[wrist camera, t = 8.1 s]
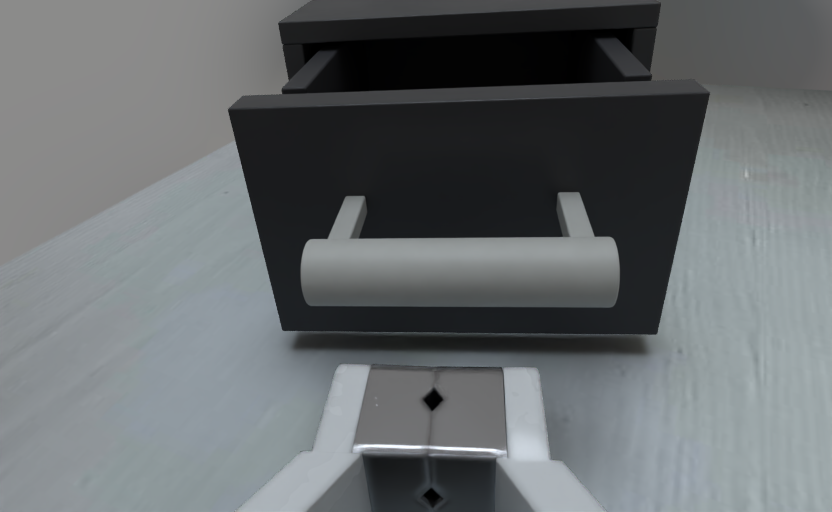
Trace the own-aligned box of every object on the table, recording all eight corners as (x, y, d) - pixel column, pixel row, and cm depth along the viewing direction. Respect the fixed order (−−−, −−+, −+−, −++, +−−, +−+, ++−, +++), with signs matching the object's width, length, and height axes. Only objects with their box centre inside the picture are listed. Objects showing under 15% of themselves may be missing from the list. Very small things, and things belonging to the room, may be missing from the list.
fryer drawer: (702, 446, 14) (794, 163, 10) (237, 431, 16) (149, 176, 12) (587, 164, 29) (605, 1, 25) (353, 169, 31) (332, 16, 26)
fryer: (623, 241, 24) (661, 2, 19) (318, 244, 26) (277, 22, 21) (574, 125, 37) (589, -41, 31) (368, 131, 38) (350, -27, 33)
